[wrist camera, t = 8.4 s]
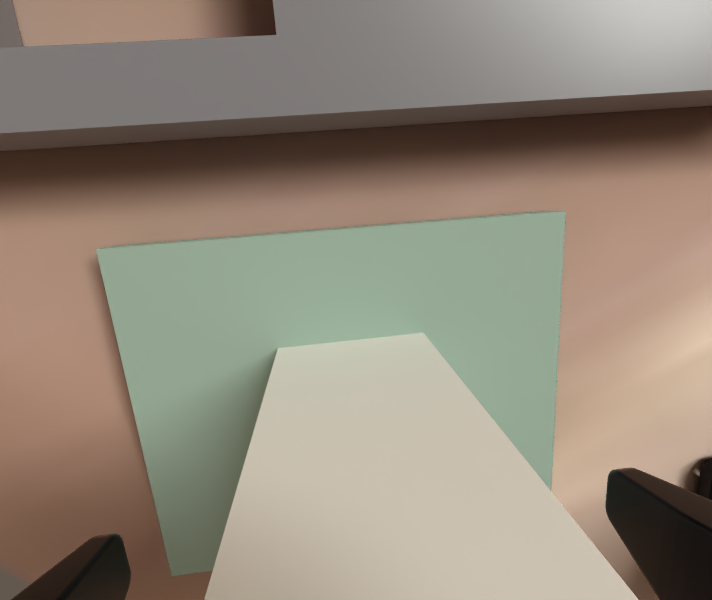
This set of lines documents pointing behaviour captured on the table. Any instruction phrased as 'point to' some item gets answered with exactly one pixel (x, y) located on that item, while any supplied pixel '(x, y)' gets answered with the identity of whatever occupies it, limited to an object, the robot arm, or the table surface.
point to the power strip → (360, 70)
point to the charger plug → (393, 491)
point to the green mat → (323, 337)
